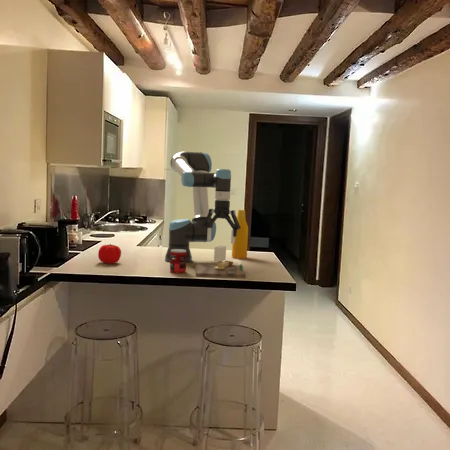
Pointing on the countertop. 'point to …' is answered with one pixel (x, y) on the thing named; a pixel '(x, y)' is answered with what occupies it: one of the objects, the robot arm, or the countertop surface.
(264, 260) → the countertop surface
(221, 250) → the tuning peg
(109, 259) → the tomato
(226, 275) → the gauge plate
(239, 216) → the beer bottle
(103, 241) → the countertop surface
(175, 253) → the canned food
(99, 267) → the countertop surface
